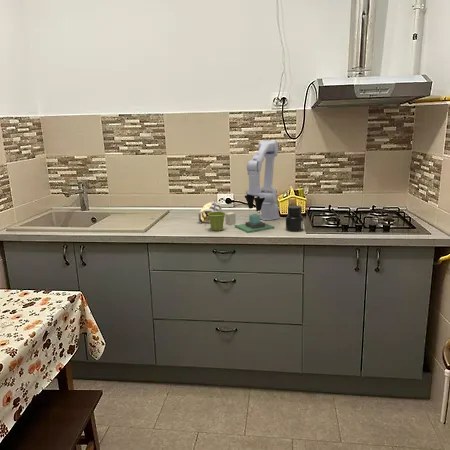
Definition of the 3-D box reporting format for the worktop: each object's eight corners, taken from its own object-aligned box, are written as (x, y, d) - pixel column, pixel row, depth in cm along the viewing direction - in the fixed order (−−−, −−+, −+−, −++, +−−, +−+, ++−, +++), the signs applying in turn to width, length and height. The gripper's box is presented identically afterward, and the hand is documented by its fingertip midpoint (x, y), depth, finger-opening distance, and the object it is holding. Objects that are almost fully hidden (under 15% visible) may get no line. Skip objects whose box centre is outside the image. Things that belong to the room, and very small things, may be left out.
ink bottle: (306, 231, 217) (307, 207, 214) (290, 232, 214) (290, 209, 211) (298, 226, 226) (298, 204, 223) (282, 228, 223) (282, 205, 220)
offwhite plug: (230, 222, 239) (230, 212, 238) (235, 223, 236) (235, 213, 235) (224, 224, 236) (224, 213, 235) (229, 225, 233) (229, 214, 232)
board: (259, 223, 236) (259, 217, 235) (274, 228, 224) (274, 222, 223) (234, 227, 228) (234, 221, 228) (248, 232, 216) (248, 227, 216)
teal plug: (255, 224, 227) (255, 214, 226) (260, 226, 224) (259, 215, 223) (248, 226, 225) (248, 215, 224) (252, 227, 222) (252, 216, 220)
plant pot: (229, 229, 224) (229, 213, 222) (216, 232, 218) (215, 216, 216) (218, 226, 231) (217, 210, 229) (204, 229, 225) (203, 213, 223)
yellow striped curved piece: (217, 224, 238) (216, 201, 234) (198, 224, 239) (197, 201, 235) (221, 214, 262) (221, 193, 258) (205, 214, 263) (204, 193, 259)
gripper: (240, 182, 224) (241, 208, 228) (255, 186, 212) (255, 213, 215) (251, 181, 228) (252, 206, 231) (267, 184, 215) (267, 211, 219)
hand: (254, 209), depth 223 cm, fingers open, 7 cm apart
